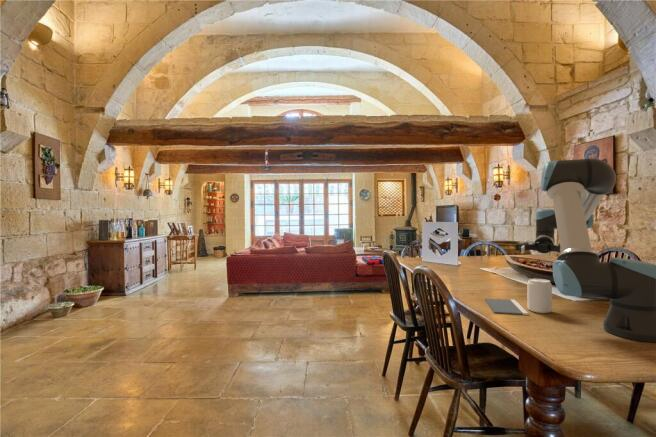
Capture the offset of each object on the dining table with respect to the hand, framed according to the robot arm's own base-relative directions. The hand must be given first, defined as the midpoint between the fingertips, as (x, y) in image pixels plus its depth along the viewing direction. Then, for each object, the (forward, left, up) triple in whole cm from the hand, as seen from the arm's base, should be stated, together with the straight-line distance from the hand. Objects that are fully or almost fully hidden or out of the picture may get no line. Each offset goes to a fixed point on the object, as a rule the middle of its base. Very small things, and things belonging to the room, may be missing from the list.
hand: (541, 251), depth 137 cm
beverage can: (-9, +3, -22) cm, 24 cm away
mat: (-6, +15, -22) cm, 27 cm away
